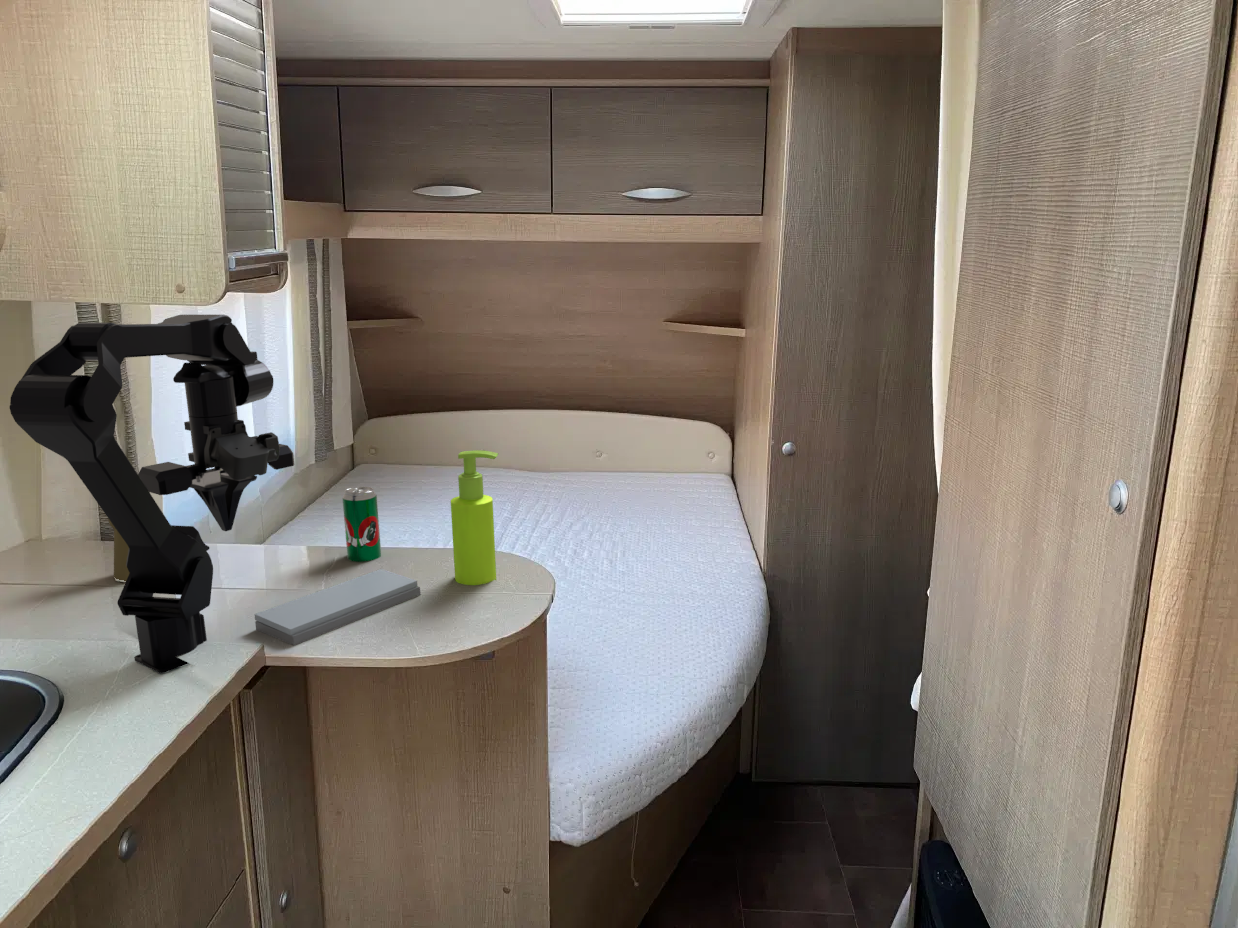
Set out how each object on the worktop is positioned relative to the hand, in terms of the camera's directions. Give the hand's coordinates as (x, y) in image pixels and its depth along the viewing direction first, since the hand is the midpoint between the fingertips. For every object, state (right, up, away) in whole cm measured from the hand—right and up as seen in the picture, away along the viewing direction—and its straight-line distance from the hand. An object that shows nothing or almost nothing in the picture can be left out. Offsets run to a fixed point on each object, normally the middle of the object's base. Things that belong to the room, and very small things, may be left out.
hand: (226, 530), depth 123 cm
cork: (-22, -8, +19) cm, 30 cm away
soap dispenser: (+31, -9, +12) cm, 35 cm away
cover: (+15, -9, 0) cm, 18 cm away
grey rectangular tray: (+15, -12, 0) cm, 19 cm away
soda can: (+12, -7, +22) cm, 26 cm away
